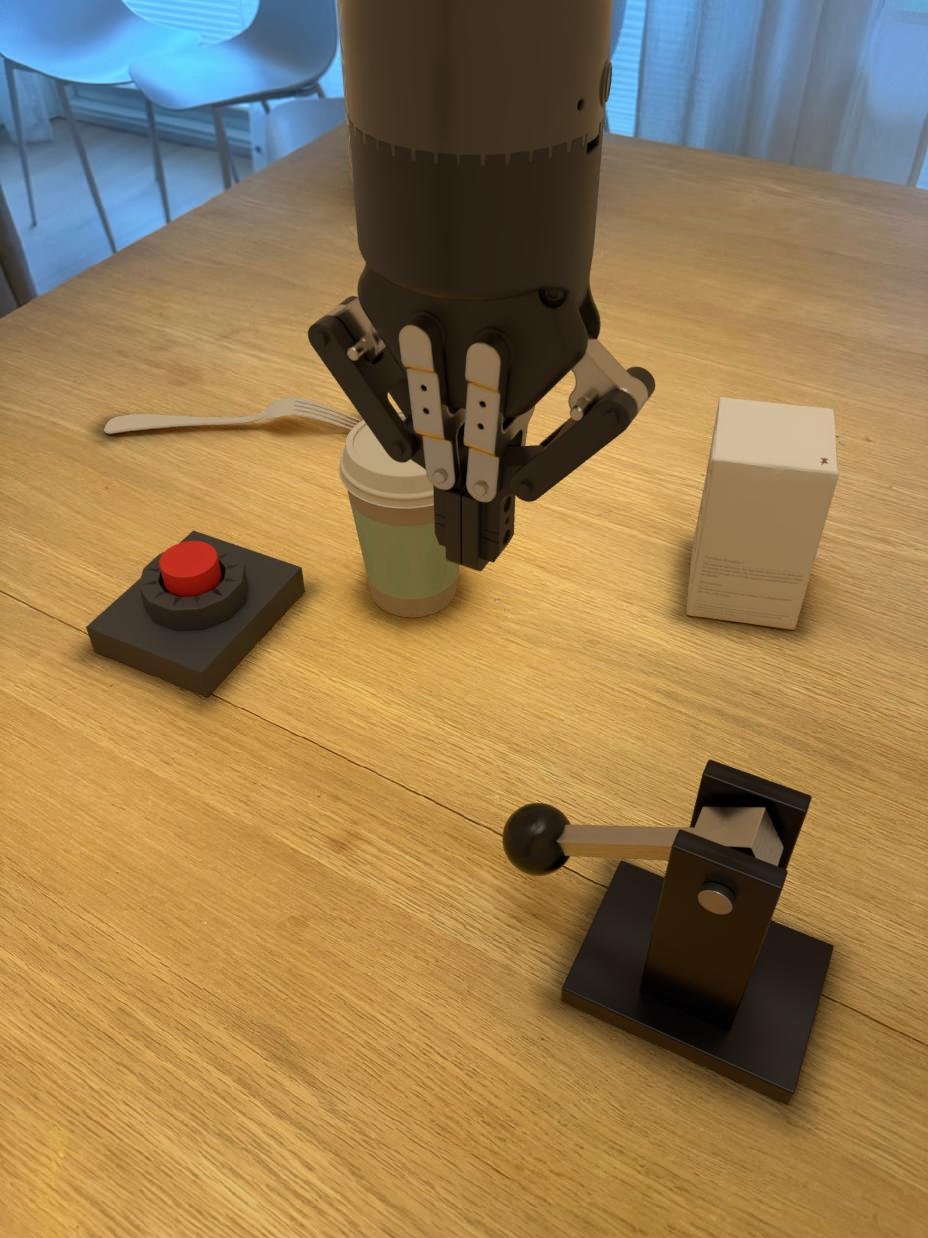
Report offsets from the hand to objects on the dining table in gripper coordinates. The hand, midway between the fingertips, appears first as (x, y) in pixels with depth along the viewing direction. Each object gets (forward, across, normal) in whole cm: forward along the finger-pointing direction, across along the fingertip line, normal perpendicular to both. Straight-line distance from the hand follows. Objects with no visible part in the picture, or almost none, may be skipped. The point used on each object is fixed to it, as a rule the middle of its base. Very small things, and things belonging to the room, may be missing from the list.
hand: (475, 554), depth 42 cm
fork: (+21, -37, +28) cm, 50 cm away
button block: (+21, -24, +8) cm, 33 cm away
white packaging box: (+21, +6, +27) cm, 35 cm away
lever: (+14, +9, -2) cm, 17 cm away
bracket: (+20, +13, -2) cm, 24 cm away
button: (+17, -24, +8) cm, 31 cm away
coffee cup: (+21, -13, +17) cm, 30 cm away
